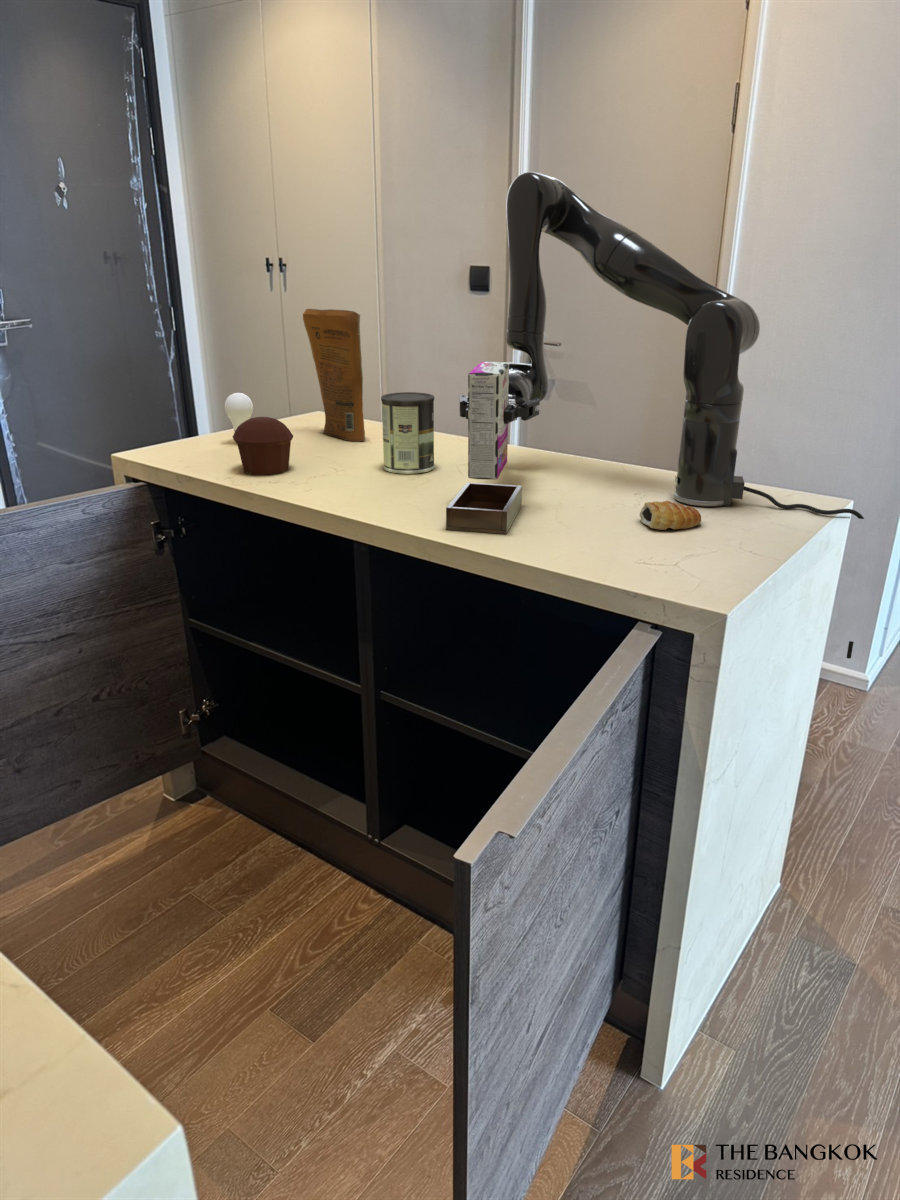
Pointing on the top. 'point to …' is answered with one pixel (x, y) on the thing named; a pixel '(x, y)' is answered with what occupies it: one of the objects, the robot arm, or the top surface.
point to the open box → (484, 508)
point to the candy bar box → (487, 420)
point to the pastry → (669, 515)
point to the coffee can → (408, 432)
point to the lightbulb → (238, 408)
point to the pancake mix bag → (338, 369)
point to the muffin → (263, 445)
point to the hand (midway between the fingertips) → (488, 416)
